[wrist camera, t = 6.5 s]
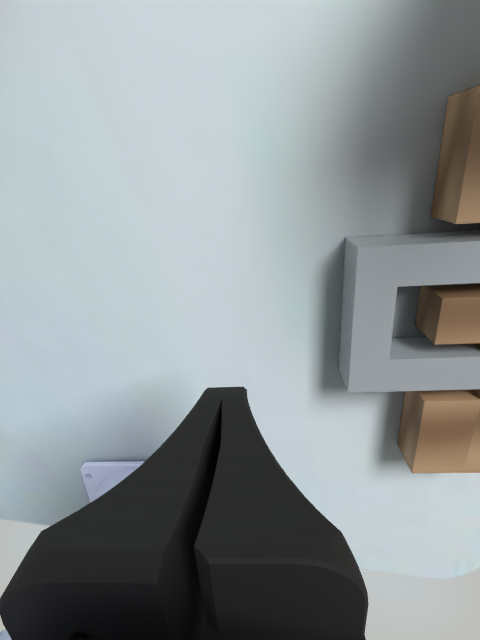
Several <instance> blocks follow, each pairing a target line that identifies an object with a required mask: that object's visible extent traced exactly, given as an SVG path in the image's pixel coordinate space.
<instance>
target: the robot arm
mask: <svg viewBox="0 0 480 640" xmlns="http://www.w3.org/2000/svg"><path fill="white" fill-rule="evenodd" d="M80 471H81V475H82V478H83V481H84V484H85V487H86V491H87V494H88V497H89V500H90V503H89V504H88V505H86V506H85V507H83V508H81V509H80V510H78V511H77V512H75V513H73V514H71V515H70V516H68V517H66V518H64V519H63V520H61V521H59V522H57V523H56V524H54V525H52V526H50V527H49V528H47V529H45V530H43V531H41V533H40V534H39V536H38V537H37V539H36V540H35V542H34V543H33V545H32V546H31V547H30V549H29V551H28V552H27V554H26V556H25V557H24V559H23V561H22V562H21V564H20V566H19V567H18V569H17V571H16V573H15V574H14V576H13V578H12V579H11V581H10V583H9V584H8V586H7V588H6V590H5V591H4V593H3V595H2V596H1V598H0V615H1V618H2V621H3V625H4V626H5V628H6V629H5V631H2V632H0V640H365V635H364V633H365V625H366V618H367V610H368V595H367V590H366V587H365V583H364V580H363V578H362V575H361V572H360V570H359V567H358V565H357V562H356V560H355V558H354V556H353V554H352V552H351V550H350V548H349V546H348V544H347V542H346V540H345V538H344V536H343V534H342V532H341V531H340V530H338V529H337V528H336V527H335V526H334V525H333V524H332V523H331V522H330V521H328V520H327V519H326V518H325V517H324V516H323V515H322V514H321V513H320V512H319V511H318V510H317V509H316V508H315V507H314V506H313V505H312V504H311V503H310V502H309V500H308V499H307V498H306V497H305V496H304V495H303V494H302V493H301V491H300V490H299V489H298V488H297V487H296V486H295V484H294V483H293V482H292V481H291V480H290V478H289V477H288V476H287V475H286V473H285V472H284V470H283V469H282V468H281V466H280V465H279V463H278V462H277V460H276V459H275V457H274V456H273V454H272V453H271V451H270V449H269V448H268V446H267V444H266V443H265V441H264V439H263V437H262V435H261V433H260V431H259V429H258V427H257V425H256V422H255V420H254V418H253V415H252V413H251V410H250V407H249V403H248V399H247V390H246V389H245V388H244V387H219V388H207V389H206V390H205V391H204V393H203V394H202V396H201V397H200V399H199V400H198V401H197V403H196V404H195V406H194V407H193V408H192V410H191V411H190V412H189V414H188V415H187V416H186V418H185V419H184V420H183V421H182V423H181V424H180V425H179V426H178V428H177V429H176V430H175V431H174V432H173V433H172V434H171V436H170V437H169V438H168V439H167V440H166V441H165V442H164V443H163V444H162V446H161V447H160V448H159V449H158V450H157V451H156V452H155V453H154V454H153V455H152V456H150V457H149V458H148V459H147V460H146V461H124V462H85V463H83V464H82V466H81V468H80Z"/></svg>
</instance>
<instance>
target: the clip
mask: <svg viewBox="0 0 480 640" xmlns="http://www.w3.org/2000/svg"><path fill="white" fill-rule="evenodd" d="M469 283H480V230H473V231H455V232H436V233H418V234H400V235H381V236H363V237H346V238H345V257H344V276H343V295H342V314H341V333H340V352H339V371H340V374H341V376H342V379H343V381H344V384H345V386H346V389H347V391H348V393H359V392H396V391H432V390H469V389H480V349H479V348H478V347H477V346H475V345H474V344H473V343H469V344H437V345H435V344H434V343H433V342H432V341H431V340H430V339H429V338H428V337H404V338H392V331H393V322H394V314H395V305H396V297H397V288H398V287H403V286H425V285H447V284H469Z"/></svg>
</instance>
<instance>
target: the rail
mask: <svg viewBox="0 0 480 640" xmlns="http://www.w3.org/2000/svg"><path fill="white" fill-rule="evenodd" d="M431 217H433V218H436V219H440V220H443V221H447V222H450V223H454V224H468V223H480V85H478V86H476V87H473V88H470V89H467V90H465V91H462V92H459V93H456V94H454V95H451V96H448V101H447V108H446V115H445V121H444V128H443V135H442V142H441V149H440V156H439V162H438V169H437V176H436V183H435V190H434V196H433V203H432V210H431ZM415 325H416V326H417V327H418V328H419V329H420V330H421V331H422V332H423V333H424V334H425V335H426V336H427V337H428V338H429V339H430V340H431V341H432V342H433V343H434V344H435V345H437V344H469V343H473V344H474V345H475V346H477V347H478V348H479V349H480V283H469V284H447V285H425V286H420V292H419V299H418V305H417V312H416V319H415ZM397 444H398V446H399V448H400V450H401V452H402V454H403V456H404V458H405V460H406V462H407V464H408V466H409V468H410V470H411V472H412V473H480V389H469V390H432V391H405V394H404V401H403V408H402V415H401V421H400V428H399V435H398V442H397Z"/></svg>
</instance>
